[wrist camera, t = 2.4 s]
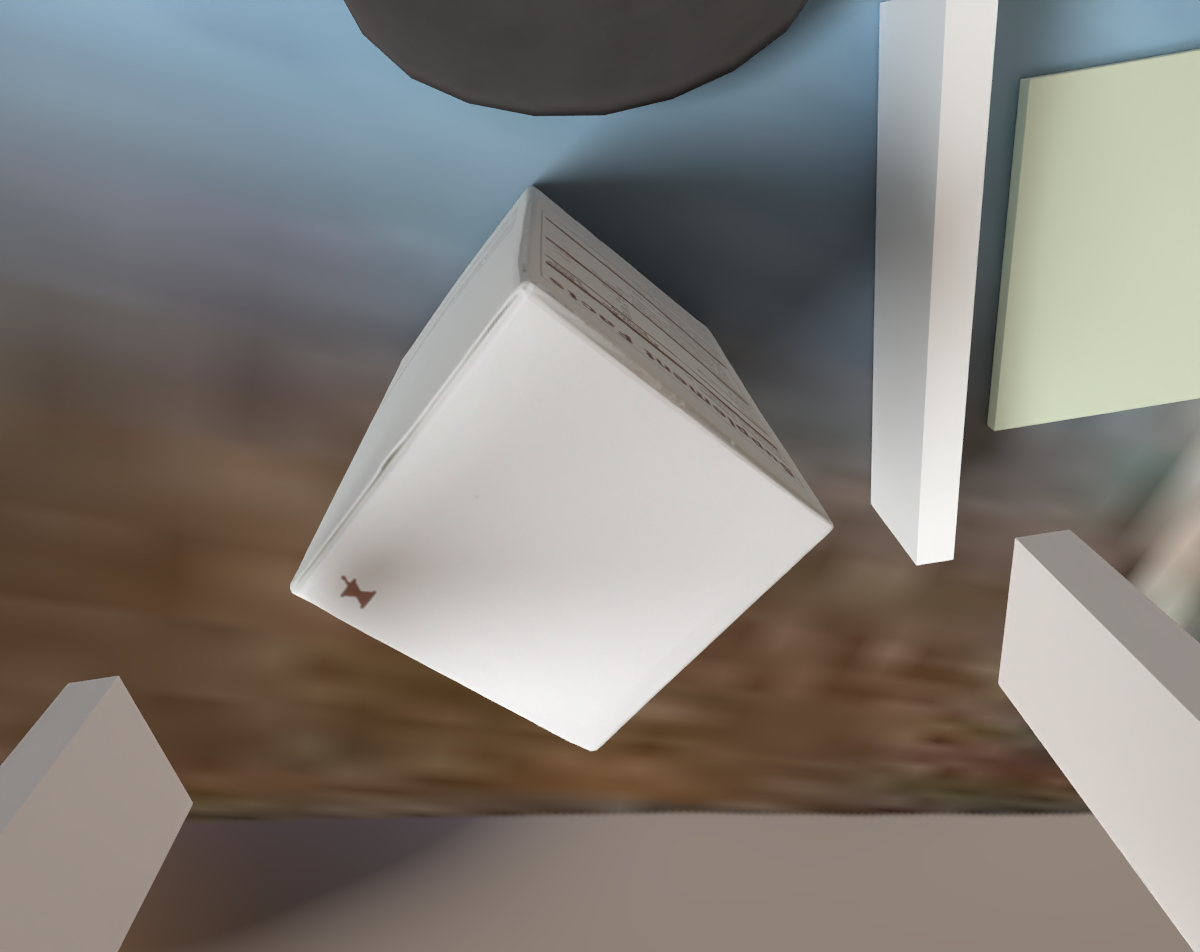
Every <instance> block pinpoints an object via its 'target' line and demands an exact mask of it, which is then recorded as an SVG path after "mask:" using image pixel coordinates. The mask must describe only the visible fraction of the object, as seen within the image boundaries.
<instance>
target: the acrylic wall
mask: <svg viewBox="0 0 1200 952" xmlns="http://www.w3.org/2000/svg"><path fill="white" fill-rule="evenodd" d="M997 11H998V0H890V1H886V2H881V3H880V24H879V80H878V135H877V191H876V246H875V302H874V357H873V413H872V469H871V505H872V506H873V507H874V509H875V510H876V511H877V513H878V514H879V516H880V517H881V518H882V520H883V521H884V522H885V524H886V525H887V526H888V528H889V529H890V530H891V532H892V533H893V534H894V536H895V537H896V538H897V540H898V541H899V542H900V544H901V545H902V547H903V548H904V549H905V551H906V552H907V553H908V555H909V556H910V557H911V559H912V560H913V561H914V563H915V564H916V565H921V564H928V563H934V562H940V561H947V560H953V557H954V545H955V532H956V520H957V507H958V495H959V483H960V470H961V458H962V445H963V433H964V421H965V408H966V396H967V383H968V371H969V359H970V346H971V334H972V321H973V309H974V297H975V284H976V272H977V259H978V247H979V234H980V222H981V210H982V197H983V185H984V172H985V160H986V148H987V135H988V123H989V110H990V98H991V86H992V73H993V61H994V48H995V36H996V24H997Z"/></svg>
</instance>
